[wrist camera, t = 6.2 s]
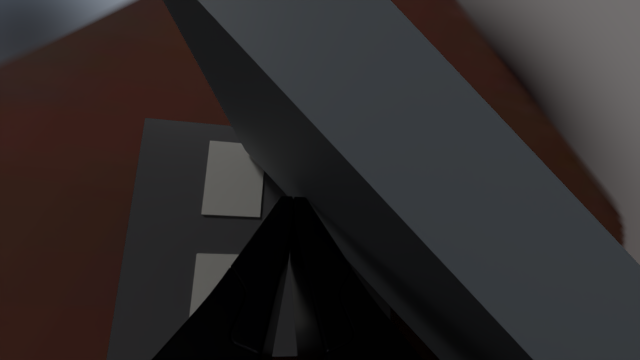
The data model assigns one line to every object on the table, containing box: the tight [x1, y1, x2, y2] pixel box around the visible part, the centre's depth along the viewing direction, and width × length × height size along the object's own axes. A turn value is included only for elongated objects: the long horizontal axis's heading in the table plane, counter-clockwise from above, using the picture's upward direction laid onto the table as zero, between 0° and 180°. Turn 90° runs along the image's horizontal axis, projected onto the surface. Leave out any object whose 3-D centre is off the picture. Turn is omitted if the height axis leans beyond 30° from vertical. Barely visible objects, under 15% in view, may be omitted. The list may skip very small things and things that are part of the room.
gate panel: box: [163, 0, 640, 360], centre depth 9 cm, size 2×20×11 cm, turn 44°
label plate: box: [107, 118, 390, 360], centre depth 14 cm, size 12×14×1 cm
